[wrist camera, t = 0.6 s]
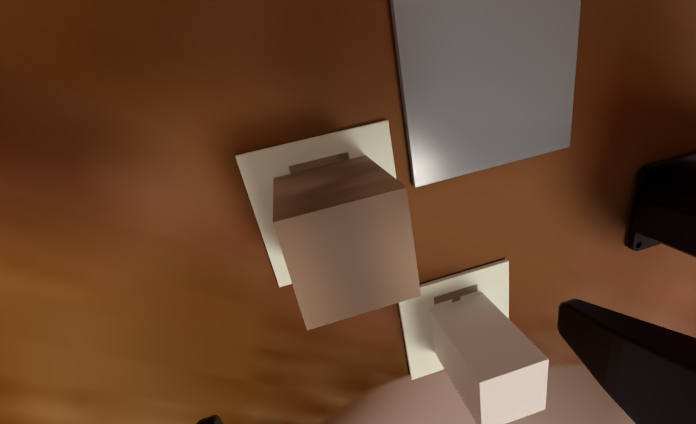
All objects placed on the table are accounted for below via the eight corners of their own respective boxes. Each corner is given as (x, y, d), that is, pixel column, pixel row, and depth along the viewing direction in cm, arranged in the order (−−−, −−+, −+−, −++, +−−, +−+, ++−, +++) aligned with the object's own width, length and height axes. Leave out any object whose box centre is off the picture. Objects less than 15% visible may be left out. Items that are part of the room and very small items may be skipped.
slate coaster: (578, -52, 16) (585, -55, 16) (564, 145, 20) (569, 147, 20) (387, -16, 15) (390, -19, 15) (412, 185, 19) (415, 187, 19)
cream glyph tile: (386, 119, 17) (388, 120, 17) (404, 248, 21) (406, 251, 20) (235, 155, 16) (235, 156, 16) (279, 284, 20) (279, 287, 19)
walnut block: (365, 155, 18) (406, 187, 12) (379, 236, 19) (420, 295, 14) (273, 177, 17) (272, 222, 11) (297, 259, 19) (307, 330, 13)
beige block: (482, 293, 23) (548, 359, 17) (484, 336, 24) (545, 409, 19) (429, 309, 22) (479, 382, 17) (434, 352, 24) (481, 432, 18)
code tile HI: (506, 258, 23) (509, 261, 22) (506, 344, 26) (508, 347, 25) (396, 291, 22) (397, 294, 21) (410, 376, 25) (411, 380, 24)
